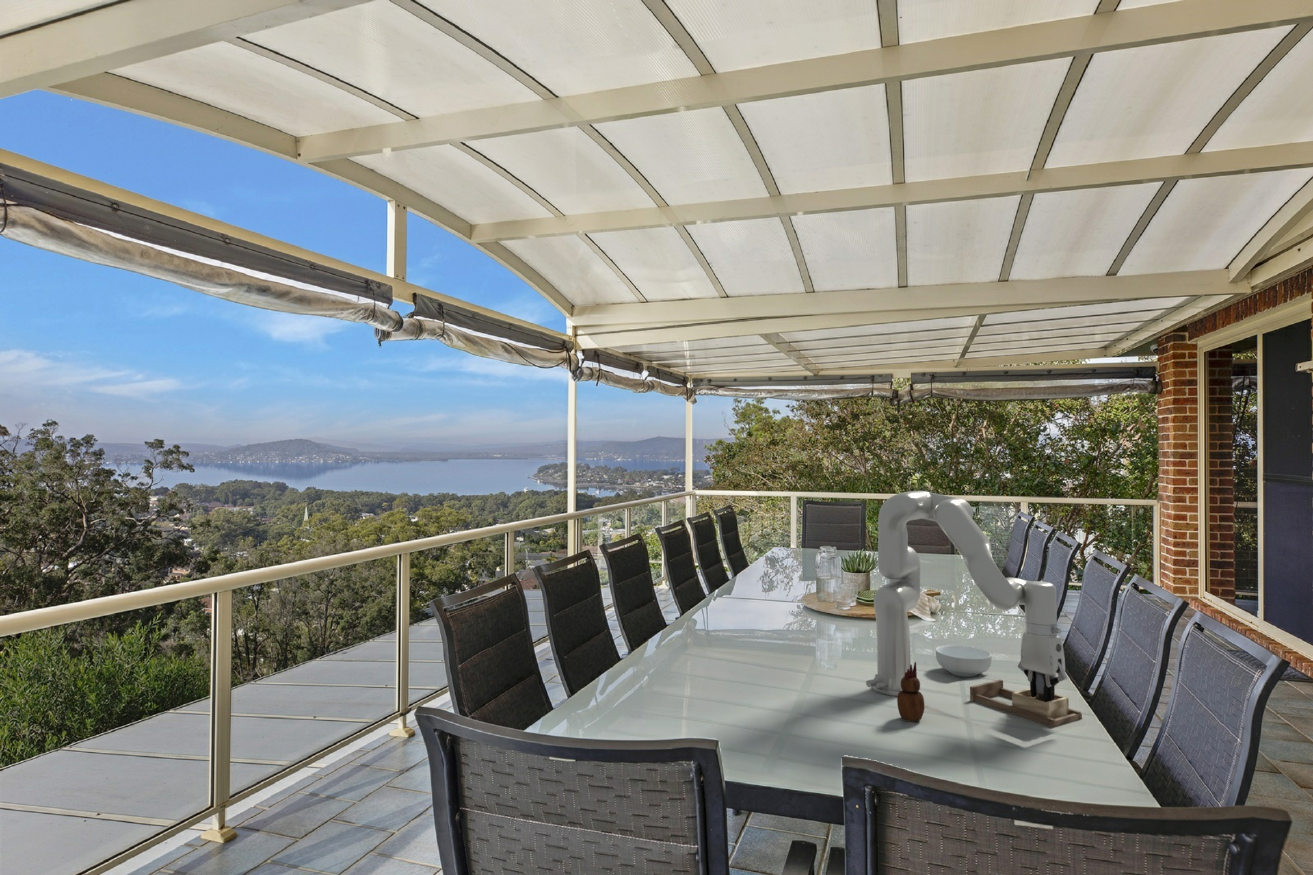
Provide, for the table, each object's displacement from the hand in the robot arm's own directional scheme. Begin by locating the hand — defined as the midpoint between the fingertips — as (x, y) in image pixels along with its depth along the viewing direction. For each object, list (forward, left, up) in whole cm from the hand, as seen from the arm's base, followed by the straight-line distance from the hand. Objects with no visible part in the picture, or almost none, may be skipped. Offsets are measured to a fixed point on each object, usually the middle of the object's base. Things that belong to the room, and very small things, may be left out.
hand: (1042, 698), depth 195 cm
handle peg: (0, 0, -3) cm, 3 cm away
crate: (0, +1, -5) cm, 5 cm away
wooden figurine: (-30, +17, -6) cm, 35 cm away
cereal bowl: (+17, +38, -6) cm, 42 cm away
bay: (0, +5, -6) cm, 8 cm away
